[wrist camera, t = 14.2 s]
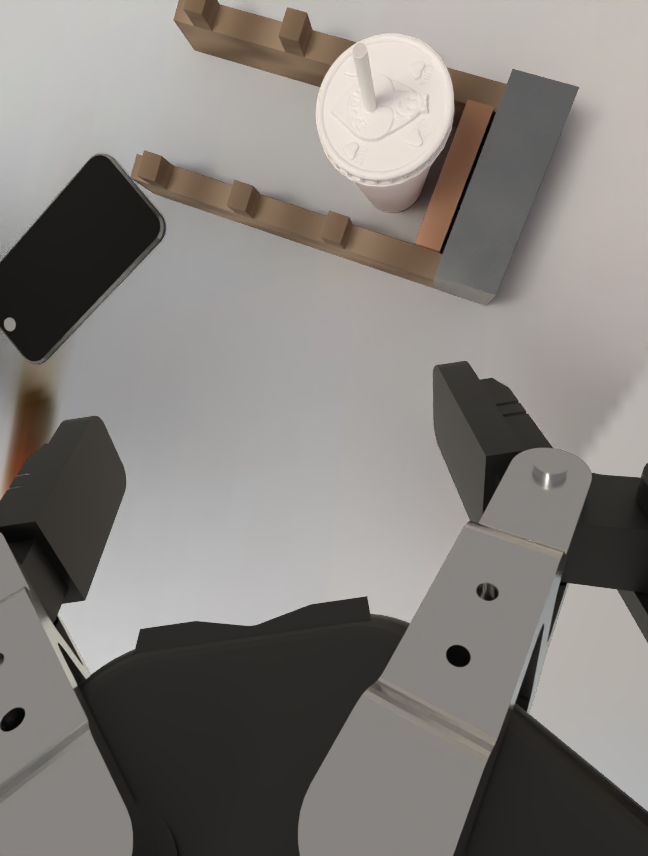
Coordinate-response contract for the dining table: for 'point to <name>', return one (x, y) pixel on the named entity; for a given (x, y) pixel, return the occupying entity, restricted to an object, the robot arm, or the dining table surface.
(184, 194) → the brown pegged rack
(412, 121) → the smoothie
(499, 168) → the block
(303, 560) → the dining table surface
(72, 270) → the smartphone
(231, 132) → the dining table surface
